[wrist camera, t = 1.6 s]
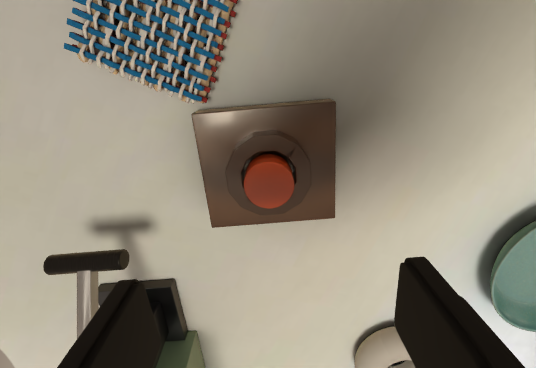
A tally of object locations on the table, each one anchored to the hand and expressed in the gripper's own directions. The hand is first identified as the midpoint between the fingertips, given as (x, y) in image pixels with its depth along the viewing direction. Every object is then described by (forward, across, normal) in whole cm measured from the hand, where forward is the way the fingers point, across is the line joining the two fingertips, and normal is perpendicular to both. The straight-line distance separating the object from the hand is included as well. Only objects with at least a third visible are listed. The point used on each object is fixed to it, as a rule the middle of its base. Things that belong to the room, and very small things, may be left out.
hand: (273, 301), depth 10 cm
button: (+13, 0, 0) cm, 13 cm away
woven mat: (+17, +7, -12) cm, 22 cm away
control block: (+16, 0, 0) cm, 16 cm away
